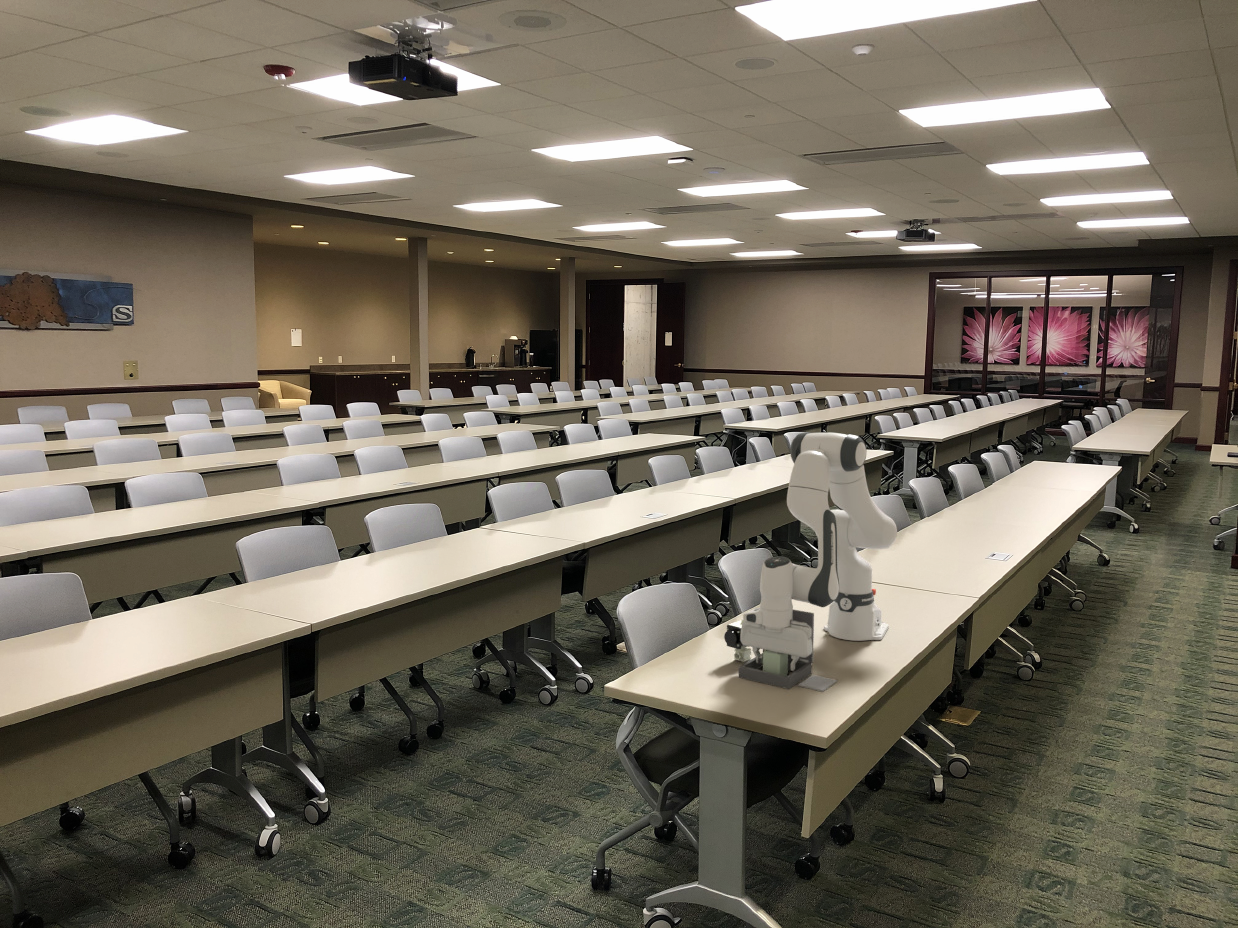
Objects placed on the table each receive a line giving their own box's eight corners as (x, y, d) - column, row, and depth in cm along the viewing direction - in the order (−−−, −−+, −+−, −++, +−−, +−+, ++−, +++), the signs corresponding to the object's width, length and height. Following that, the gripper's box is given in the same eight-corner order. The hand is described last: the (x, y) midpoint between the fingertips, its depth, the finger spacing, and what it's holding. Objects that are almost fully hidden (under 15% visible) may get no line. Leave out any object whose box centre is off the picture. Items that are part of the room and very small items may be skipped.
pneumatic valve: (723, 662, 256) (723, 622, 254) (748, 653, 264) (749, 613, 262) (738, 667, 252) (739, 626, 250) (763, 657, 260) (764, 617, 259)
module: (771, 671, 249) (771, 644, 248) (787, 674, 246) (788, 648, 245) (762, 676, 245) (763, 649, 244) (779, 680, 242) (779, 653, 241)
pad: (812, 676, 245) (812, 674, 245) (836, 681, 241) (837, 680, 241) (798, 685, 238) (798, 684, 238) (823, 691, 233) (823, 690, 233)
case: (764, 662, 256) (765, 604, 254) (813, 672, 247) (814, 612, 245) (738, 677, 244) (739, 616, 242) (789, 689, 235) (790, 626, 233)
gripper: (816, 620, 240) (815, 670, 242) (748, 608, 252) (748, 656, 254) (806, 626, 235) (805, 677, 236) (737, 613, 247) (737, 662, 249)
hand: (775, 666), depth 245 cm, fingers open, 8 cm apart
